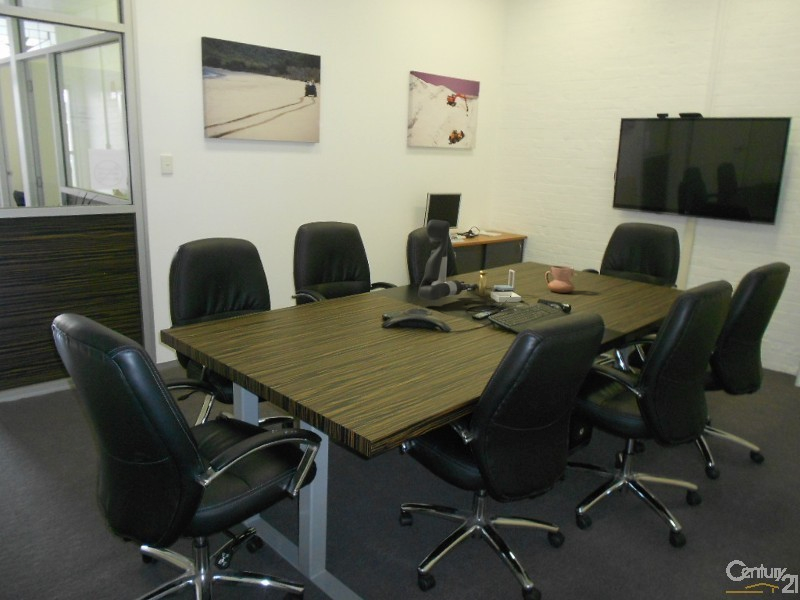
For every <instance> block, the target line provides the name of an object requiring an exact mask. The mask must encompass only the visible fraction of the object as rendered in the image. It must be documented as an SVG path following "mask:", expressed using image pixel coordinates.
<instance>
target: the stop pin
mask: <svg viewBox="0 0 800 600" xmlns="http://www.w3.org/2000/svg"><path fill="white" fill-rule="evenodd" d="M478 273H479V283H478V284H479V285H478V286H479V287H478V296H479V295H480V296H479V297H485V296H486V294H487V293H486V292H487V291H486V290H487V279H488V278H487V276H488V274H489V270H479V271H478Z"/></svg>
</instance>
